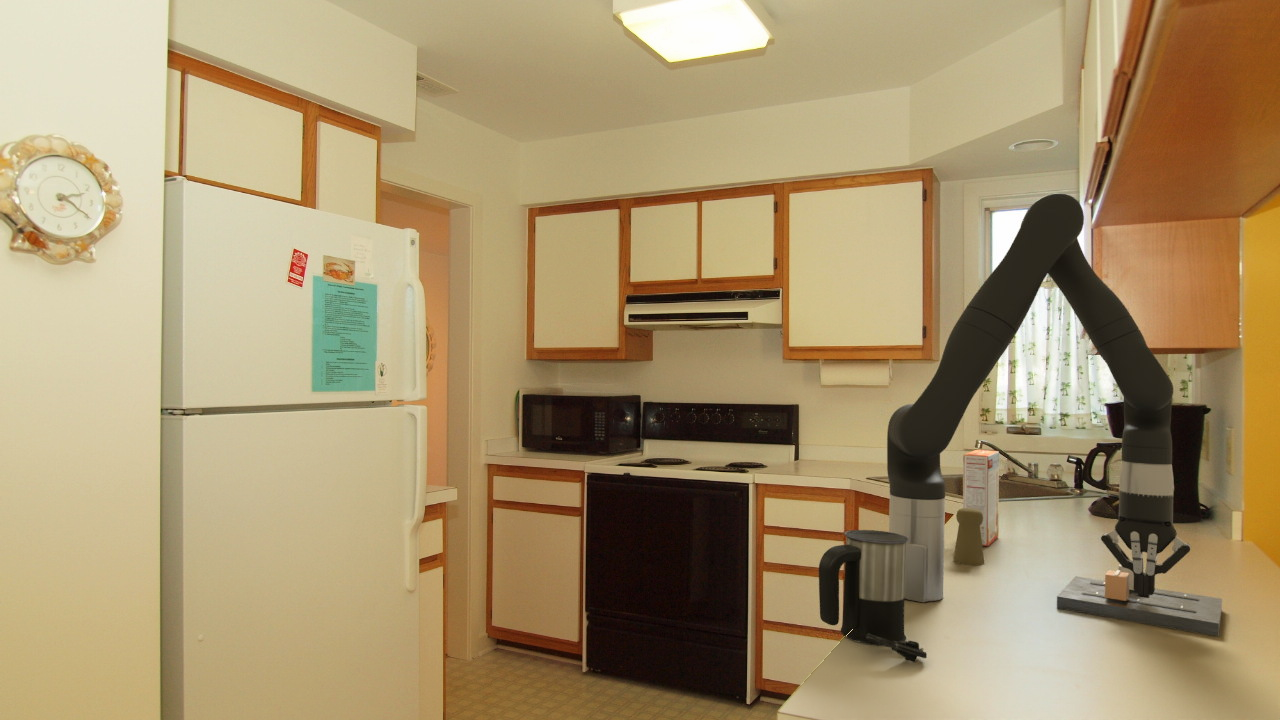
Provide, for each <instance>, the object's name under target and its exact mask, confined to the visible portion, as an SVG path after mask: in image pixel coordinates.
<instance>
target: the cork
mask: <svg viewBox="0 0 1280 720" xmlns="http://www.w3.org/2000/svg"><path fill="white" fill-rule="evenodd" d="M955 515H956V521H957V522H958V527H957V535H956V541H955V547H954V554H953V562H955V563H959V564H963V565H969V566H981V565H984V564H985V559H984V549H983V547H984V546H982V539H981V530H980V525H981V524H982V522H983V514H982V512H981V511H979V510H977V509H973V508H963V507H962V508H959V509H958V510H957V512H956V514H955Z"/></svg>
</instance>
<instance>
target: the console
mask: <svg viewBox="0 0 1280 720" xmlns="http://www.w3.org/2000/svg"><path fill="white" fill-rule="evenodd" d="M1222 605H1223V599H1222V598H1220V597H1212V596H1207V595H1201V594H1200V595H1199V594H1195V593H1187V592H1181V591H1174V590H1169V589H1168V590H1166V589H1162V588H1161V589H1160V588H1155V591H1154V593H1153V595H1150V597H1149V598H1144V597H1138V593H1135V592H1134V590H1129V597H1128V598H1127V600H1126V601H1123V600H1117V599H1111V598H1105V580H1102V579H1096V578H1089V577H1083V576H1077V575H1076V576H1074V577H1073V578H1072V580H1071V581H1070V582H1069V583H1067V585H1066V586H1065V587H1064V588H1063V589H1062V590H1061V591H1060V593H1058V595H1057V596H1056V609H1059V610H1065V611H1071V612H1076V613H1082V614H1087V615H1094V616H1099V617H1103V618H1110V619H1116V620H1121V621H1127V622H1134V623H1137V624H1138V623H1139V624H1144V625H1149V626H1155V627H1161V628H1165V629H1166V628H1167V629H1173V630H1178V631H1183V632H1189V633H1195V634H1201V635H1206V636H1212V637H1218V638H1219V636H1220V628H1221V619H1222V612H1223V607H1222Z"/></svg>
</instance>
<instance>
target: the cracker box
mask: <svg viewBox="0 0 1280 720" xmlns="http://www.w3.org/2000/svg"><path fill="white" fill-rule="evenodd" d="M962 456H963V458H962V460H963V462H962V465H963V467H962V468H963V469H962V472H963V473H962V475H963V476H962V477H963V481H962V483H963V485H962V486H963V487H962V488H963V489H962V490H963V491H962V493H963V498H962V499H963V500H962V503H963V504H962V508H973V509H977V510H979V511H981V512H982V514H983V522H982V524H981V525H980V530H981V539H982V547H990V545H992V543H994V542H995V540H996V539H997V538H998V537H999V532H1000V531H999V529H1000V528H999V520H1000V519H999V517H1000V516H999V515H1000V514H999V513H1000V510H999V508H1000V507H999V505H1000V503H999V502H1000V501H999V495H1000V494H999V493H1000V492H999V490H1000V489H999V487H1000V483H999V482H1000V480H999V479H1000V477H999V476H1000V473H999V472H1000V451H998V450H986V449H975V450H972V451H969V452H967V453H964V454H963V455H962Z"/></svg>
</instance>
